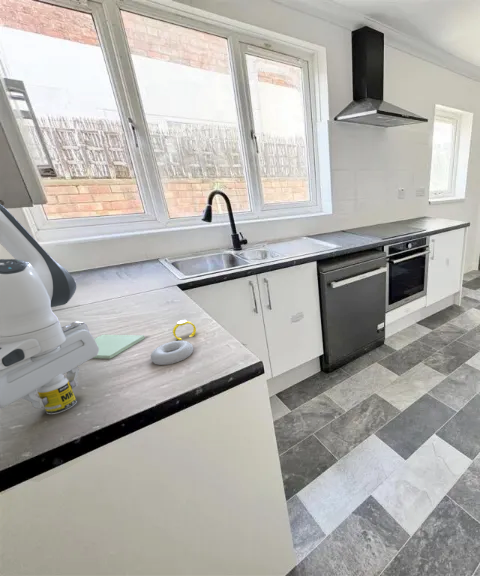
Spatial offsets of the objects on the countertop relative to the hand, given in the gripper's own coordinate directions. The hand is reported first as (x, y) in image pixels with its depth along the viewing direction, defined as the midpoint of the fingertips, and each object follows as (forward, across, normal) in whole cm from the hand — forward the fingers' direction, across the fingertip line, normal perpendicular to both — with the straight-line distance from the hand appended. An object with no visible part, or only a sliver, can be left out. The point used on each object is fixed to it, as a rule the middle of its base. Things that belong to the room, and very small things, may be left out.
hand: (57, 396), depth 67 cm
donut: (+3, -21, +10) cm, 23 cm away
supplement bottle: (+3, 0, 0) cm, 3 cm away
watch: (+3, -32, +6) cm, 33 cm away
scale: (+3, -25, -14) cm, 29 cm away
